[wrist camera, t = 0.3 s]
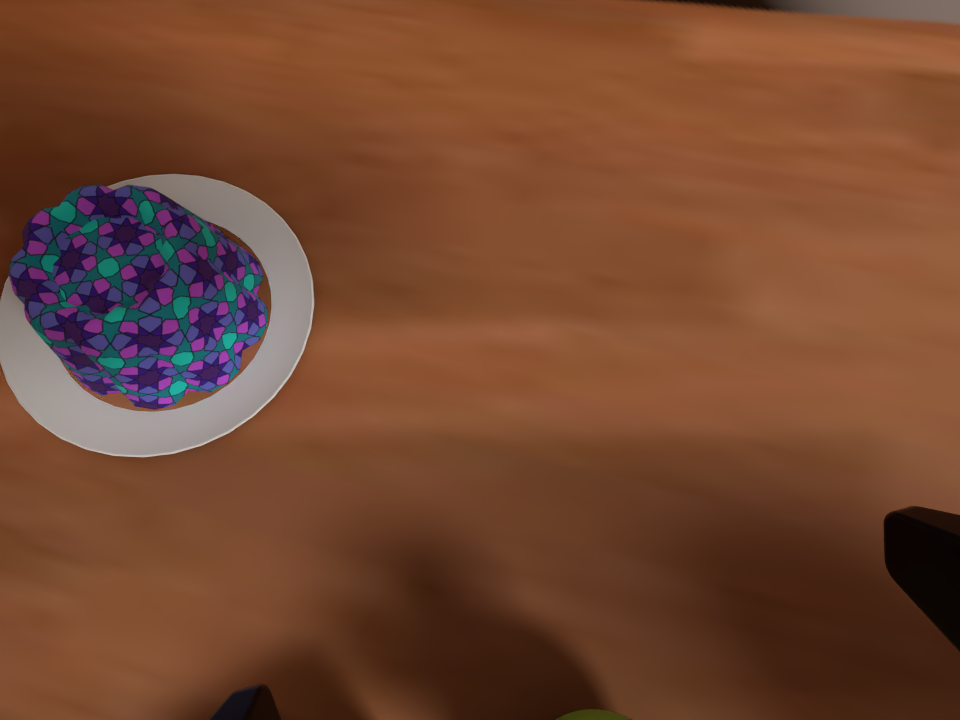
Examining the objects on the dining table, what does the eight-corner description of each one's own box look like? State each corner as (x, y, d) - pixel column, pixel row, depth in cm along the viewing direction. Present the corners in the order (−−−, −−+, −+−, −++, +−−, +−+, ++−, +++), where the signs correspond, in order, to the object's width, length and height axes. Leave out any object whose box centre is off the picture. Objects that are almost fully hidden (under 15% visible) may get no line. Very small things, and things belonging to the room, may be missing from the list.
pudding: (370, 359, 24) (355, 314, 19) (84, 521, 21) (-22, 520, 16) (236, 141, 26) (191, 50, 21) (-38, 264, 24) (-163, 193, 19)
